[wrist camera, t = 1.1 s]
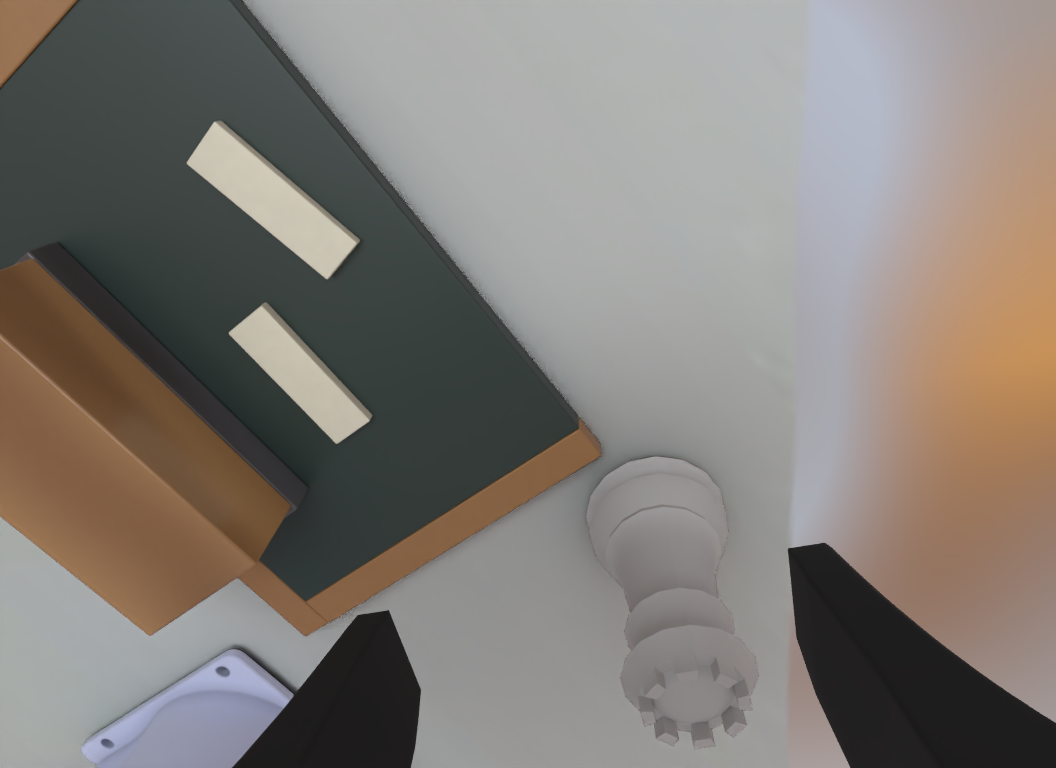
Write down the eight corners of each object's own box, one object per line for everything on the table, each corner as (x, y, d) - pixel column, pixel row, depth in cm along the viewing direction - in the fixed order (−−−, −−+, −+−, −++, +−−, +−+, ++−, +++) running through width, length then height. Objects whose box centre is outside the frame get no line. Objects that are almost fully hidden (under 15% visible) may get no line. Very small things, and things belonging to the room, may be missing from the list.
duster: (217, 552, 24) (154, 642, 20) (-36, 330, 21) (-163, 388, 17) (310, 487, 22) (262, 570, 19) (56, 239, 19) (-61, 281, 16)
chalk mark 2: (373, 415, 21) (369, 421, 21) (340, 438, 22) (336, 445, 21) (266, 301, 20) (261, 305, 19) (233, 328, 20) (227, 333, 20)
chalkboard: (312, 621, 26) (305, 638, 25) (-153, 206, 20) (-180, 212, 19) (600, 443, 22) (602, 456, 21) (135, -133, 16) (115, -141, 16)
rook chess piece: (583, 450, 22) (594, 638, 15) (725, 445, 22) (806, 634, 15) (587, 562, 24) (599, 777, 17) (718, 559, 24) (787, 776, 17)
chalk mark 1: (361, 240, 19) (357, 243, 19) (331, 276, 19) (326, 280, 19) (220, 119, 18) (214, 120, 17) (192, 161, 18) (185, 163, 18)
